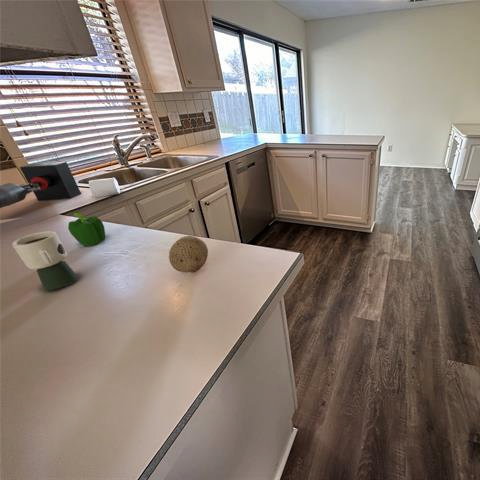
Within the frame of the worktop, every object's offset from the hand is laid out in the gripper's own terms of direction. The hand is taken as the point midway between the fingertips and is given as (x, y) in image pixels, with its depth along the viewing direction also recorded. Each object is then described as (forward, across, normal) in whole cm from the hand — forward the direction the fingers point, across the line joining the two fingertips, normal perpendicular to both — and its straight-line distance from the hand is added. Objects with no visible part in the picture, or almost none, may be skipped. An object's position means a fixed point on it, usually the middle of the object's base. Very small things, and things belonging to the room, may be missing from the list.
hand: (38, 183), depth 118 cm
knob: (+3, 0, +3) cm, 4 cm away
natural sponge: (-76, -82, +9) cm, 112 cm away
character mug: (-75, -50, +9) cm, 91 cm away
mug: (+7, -22, +9) cm, 25 cm away
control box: (+8, 0, +9) cm, 12 cm away
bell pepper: (-51, -45, +9) cm, 69 cm away
